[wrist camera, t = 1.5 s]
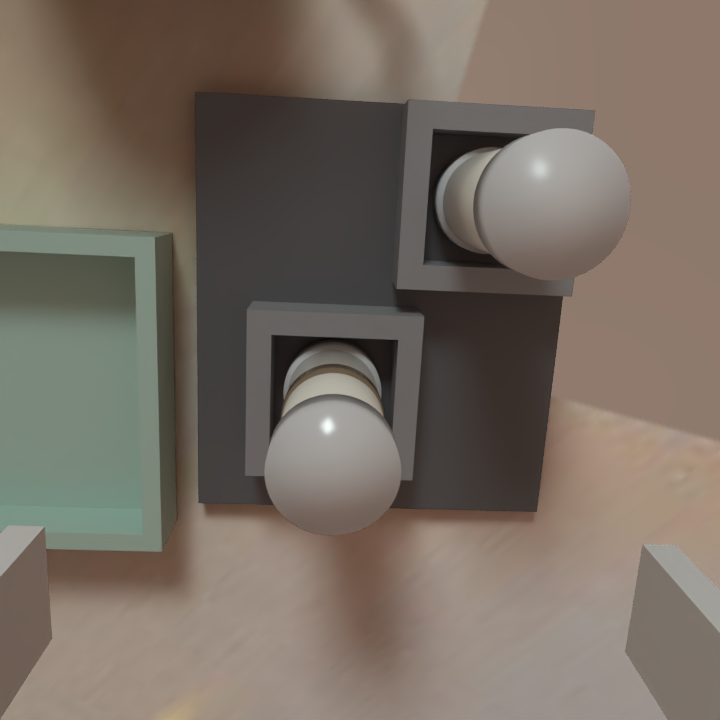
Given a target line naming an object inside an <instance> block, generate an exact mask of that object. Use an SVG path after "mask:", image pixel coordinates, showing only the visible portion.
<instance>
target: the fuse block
mask: <svg viewBox="0 0 720 720" xmlns="http://www.w3.org/2000/svg"><path fill="white" fill-rule="evenodd" d="M195 108H196V235H197V361H198V487H199V503H223V504H261V505H274V504H273V502H272V500H271V498H270V496H269V494H268V491H267V488H266V483H265V473H264V471H265V462H266V457H267V453H268V449H269V445H270V441H271V437H272V434H273V432H274V429H275V428H276V426H277V424H278V422H279V421H280V420H281V413H282V408H283V404H284V395H283V390H284V383H285V379H286V375H287V370H288V368H289V365H290V363H291V361H292V360H293V358H294V357H295V355H296V354H297V353H298V352H299V351H300V350H301V349H303V348H304V347H305V346H307V345H308V344H310V343H312V342H315V341H317V340H321V339H326V338H339V339H344V340H348V341H350V342H353V343H355V344H357V345H358V346H360V347H361V348H362V349H364V350H365V351H366V352H367V353H368V354H369V356H370V357H371V358H372V360H373V362H374V363H375V366H376V368H377V371H378V375H379V379H380V383H381V402H382V406H383V411H384V418H385V419H386V421H387V422H388V424H389V426H390V428H391V430H392V432H393V434H394V438H395V441H396V445H397V449H398V453H399V457H400V462H401V481H400V486H399V489H398V492H397V495H396V497H395V499H394V501H393V503H392V504H391V506H390V507H389V508H411V509H448V510H485V511H523V512H537V505H538V497H539V488H540V480H541V472H542V464H543V456H544V447H545V439H546V431H547V423H548V414H549V406H550V398H551V390H552V382H553V373H554V365H555V357H556V349H557V340H558V332H559V324H560V315H561V308H562V300H563V296H572V292H573V284H574V277H576V276H579V275H581V274H583V273H586V272H587V271H589V270H591V269H592V268H594V267H595V266H597V265H598V264H599V263H601V262H602V261H603V260H604V259H605V258H606V257H607V256H608V255H609V254H610V253H611V252H612V250H613V249H614V248H615V247H616V245H617V244H618V242H619V240H620V239H621V237H622V235H623V233H624V230H625V228H626V225H627V222H628V219H629V214H630V206H631V190H630V184H629V180H628V176H627V173H626V170H625V168H624V166H623V164H622V162H621V161H620V159H619V158H618V156H617V155H616V153H615V152H614V151H613V150H612V149H611V148H610V147H609V146H608V145H607V144H606V143H604V142H603V141H602V140H600V139H598V138H597V137H596V136H593V135H592V132H593V124H594V116H595V110H580V109H562V108H547V107H546V108H545V107H528V106H512V105H493V104H478V103H461V102H444V101H427V100H408V101H407V102H406V103H405V104H397V103H380V102H363V101H345V100H328V99H311V98H294V97H277V96H259V95H242V94H225V93H208V92H195Z"/></svg>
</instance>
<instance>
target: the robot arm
mask: <svg viewBox="0 0 720 720" xmlns="http://www.w3.org/2000/svg"><path fill="white" fill-rule="evenodd" d="M51 639H52V629H51V614H50V598H49V583H48V568H47V552H46V537H45V526H14V525H8V526H7V527H6V528H5V529H4V530H3V531H2V532H1V533H0V719H1V717H2V715H3V714H4V712H5V711H6V709H7V708H8V706H9V705H10V703H11V701H12V700H13V698H14V697H15V695H16V694H17V692H18V691H19V689H20V687H21V686H22V684H23V683H24V681H25V680H26V678H27V677H28V675H29V673H30V672H31V670H32V669H33V667H34V666H35V664H36V663H37V661H38V660H39V658H40V656H41V655H42V653H43V652H44V650H45V649H46V647H47V646H48V644H49V642H50V641H51ZM625 652H626V654H627V655H628V657H629V658H630V660H631V662H632V663H633V665H634V666H635V668H636V670H637V671H638V673H639V674H640V676H641V678H642V679H643V681H644V682H645V684H646V685H647V687H648V689H649V690H650V692H651V693H652V695H653V697H654V698H655V700H656V701H657V703H658V705H659V706H660V708H661V709H662V711H663V713H664V714H665V716H666V717H667V719H668V720H720V590H719V589H718V588H717V587H716V586H715V585H714V584H713V583H712V582H711V581H710V580H709V579H708V578H707V577H706V576H705V575H704V574H703V573H702V572H701V571H700V569H699V568H698V567H697V566H696V565H695V564H694V563H693V562H692V561H691V560H690V559H689V558H688V557H687V556H686V555H685V554H684V553H683V552H682V551H681V550H680V549H679V548H678V547H677V546H676V545H653V544H643V545H642V551H641V557H640V563H639V569H638V576H637V582H636V588H635V594H634V600H633V607H632V613H631V619H630V625H629V631H628V637H627V644H626V650H625Z"/></svg>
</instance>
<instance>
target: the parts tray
mask: <svg viewBox="0 0 720 720" xmlns="http://www.w3.org/2000/svg"><path fill="white" fill-rule="evenodd" d="M176 520H177V505H176V444H175V383H174V322H173V261H172V233H166V232H145V231H124V230H102V229H81V228H60V227H39V226H18V225H0V533H1V532H2V531H3V530H4V529H5V528H6V527H7V526H8V525H14V526H45V537H46V549H65V550H109V551H153V552H162V550H163V548H164V546H165V544H166V542H167V539H168V537H169V535H170V533H171V531H172V529H173V527H174V524H175V522H176Z"/></svg>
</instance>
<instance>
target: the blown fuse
mask: <svg viewBox="0 0 720 720" xmlns="http://www.w3.org/2000/svg"><path fill="white" fill-rule="evenodd" d="M283 395H284V404H283V408H282V413H281V420H280V421H279V422H278V424H277V426H276V428H275V429H274V432H273V434H272V437H271V441H270V445H269V449H268V453H267V457H266V462H265V471H264V473H265V483H266V488H267V491H268V494H269V496H270V498H271V500H272V502H273V504H274V505H275V507H276V508H277V510H278V511H279V512H280V513H281V514H282V515H283V516H284V517H285V518H286V519H287V520H288V521H290V522H291V523H292V524H294V525H296V526H297V527H299V528H301V529H303V530H306V531H309V532H311V533H315V534H320V535H329V536H333V535H344V534H350V533H353V532H357V531H359V530H361V529H364V528H366V527H367V526H369V525H371V524H373V523H374V522H375V521H377V520H378V519H379V518H380V517H381V516H382V515H383V514H384V513H385V512H386V511H387V510H388V508H389V507H390V506H391V504H392V503H393V501H394V499H395V497H396V495H397V492H398V489H399V486H400V481H401V462H400V457H399V453H398V449H397V445H396V441H395V438H394V434H393V432H392V430H391V428H390V426H389V424H388V422H387V421H386V419H385V418H384V411H383V406H382V402H381V383H380V379H379V375H378V371H377V368H376V366H375V363H374V362H373V360H372V358H371V357H370V356H369V354H368V353H367V352H366V351H365V350H364V349H362V348H361V347H360V346H358V345H357V344H355V343H353V342H350V341H348V340H344V339H339V338H326V339H321V340H317V341H315V342H312V343H310V344H308V345H307V346H305V347H304V348H303V349H301V350H300V351H299V352H298V353H297V354H296V355H295V357H294V358H293V360H292V361H291V363H290V365H289V368H288V370H287V375H286V379H285V383H284V390H283Z"/></svg>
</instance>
